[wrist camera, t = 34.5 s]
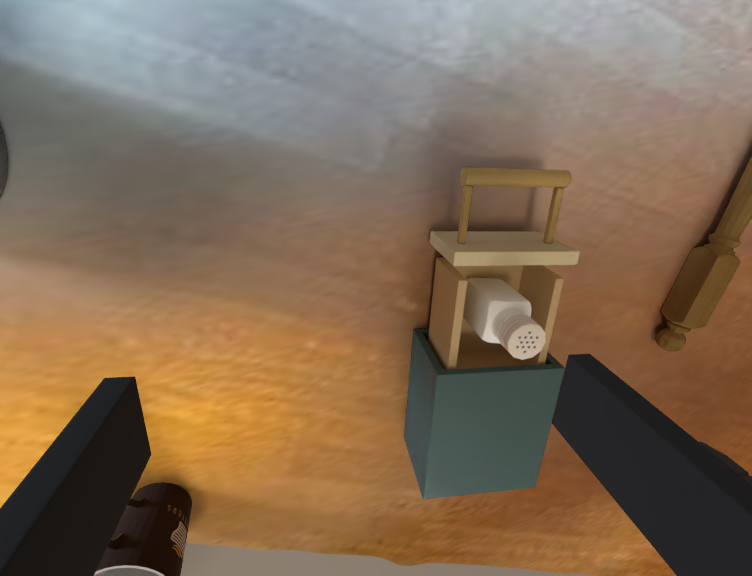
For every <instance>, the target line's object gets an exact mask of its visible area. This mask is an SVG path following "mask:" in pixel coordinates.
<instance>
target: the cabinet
mask: <svg viewBox="0 0 752 576" xmlns="http://www.w3.org/2000/svg"><path fill="white" fill-rule="evenodd" d="M428 336H429V329H414V331H413V342H412V354H411V366H410V377H409V389H408V401H407V412H406V424H405V436H404V439H405V442H406V445H407V449H408V452H409V455H410V458H411V462H412V465H413V468H414V471H415V475H416V478H417V481H418V484H419V487H420V491H421V494H422V497H423V499H430V498H440V497H449V496H458V495H468V494H477V493H487V492H496V491H506V490H515V489H524V488H534V487H535V486H536V482H537V478H538V474H539V470H540V466H541V462H542V458H543V454H544V450H545V446H546V442H547V438H548V434H549V430H550V426H551V422H552V418H553V414H554V410H555V406H556V402H557V398H558V394H559V390H560V386H561V382H562V378H563V374H564V370H565V368H564V367H563V366H562V365H561V364H560V363H559V362H558V361H557V360H556V359H555V358H554V357H553V356H552V355H551V354H550V353H547V357H546V361H545V364H543V365H524V366H506V367H487V368H468V369H450V370H443V368H442V367H441V365H440V363H439V361H438V359H437V358H436V356H435V354H434V352H433V350H432V349H431V347H430V345H429V343H428Z"/></svg>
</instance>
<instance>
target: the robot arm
mask: <svg viewBox="0 0 752 576" xmlns="http://www.w3.org/2000/svg"><path fill="white" fill-rule="evenodd" d="M7 170H8V157H7V148H6V144H5V139H4V136H3V133H2V130H1V127H0V196H1V194H2V191H3V189H4V186H5V182H6V178H7ZM552 424H553V425H554V426H555V427H556V429H557V430H558V431H559V432H560V434H561V435H562V436H563V437H564V438H565V440H566V441H567V442H568V443H569V445H570V446H571V447H572V448H573V449H574V451H575V452H576V453H577V454H578V456H579V457H580V458H581V459H582V460H583V462H584V463H585V464H586V465H587V467H588V468H589V469H590V470H591V471H592V473H593V474H594V475H595V476H596V477H597V479H598V480H599V481H600V482H601V484H602V485H603V486H604V487H605V488H606V490H607V491H608V492H609V493H610V495H611V496H612V497H613V498H614V499H615V501H616V502H617V503H618V504H619V506H620V507H621V508H622V509H623V510H624V512H625V513H626V514H627V515H628V517H629V518H630V519H631V520H632V521H633V523H634V524H635V525H636V526H637V528H638V529H639V530H640V531H641V532H642V534H643V535H644V536H645V537H646V538H647V540H648V541H649V542H650V543H651V545H652V546H653V547H654V548H655V549H656V551H657V552H658V553H659V554H660V556H661V557H662V558H663V559H664V560H665V562H666V563H667V564H668V565H669V567H670V568H671V569H672V570H673V571H674V573H675V574H676V575H677V576H752V476H749V474H748V472H747V471H745V470H744V469H743V468H742V467H740V466H739V465H738V464H737V463H735V462H734V461H733V460H732V459H730V458H729V457H728V456H726V455H725V454H723V453H721V452H719V451H717V450H716V449H714V448H712V447H710V446H708V445H707V444H705V443H703V442H698V441H696V440H695V439H694V438H693V437H692V436H690V435H689V434H688V433H687V432H685V431H684V430H683V429H682V428H680V427H679V426H678V425H677V424H676V423H674V422H673V421H672V420H671V419H669V418H668V417H667V416H666V415H664V414H663V413H662V412H661V411H659V410H658V409H657V408H656V407H655V406H653V405H652V404H651V403H650V402H648V401H647V400H646V399H645V398H643V397H642V396H641V395H640V394H639V393H637V392H636V391H635V390H634V389H632V388H631V387H630V386H629V385H627V384H626V383H625V382H624V381H623V380H621V379H620V378H619V377H618V376H616V375H615V374H614V373H613V372H611V371H610V370H609V369H608V368H607V367H605V366H604V365H603V364H602V363H600V362H599V361H598V360H597V359H595V358H594V357H593V356H592V355H590V354H577V355H568V359H567V363H566V367H565V371H564V375H563V379H562V383H561V387H560V391H559V395H558V399H557V403H556V407H555V411H554V415H553V419H552ZM150 456H151V451H150V446H149V441H148V436H147V432H146V427H145V422H144V417H143V413H142V408H141V403H140V398H139V394H138V389H137V384H136V379H135V377H118V378H104V379H103V381H102V382H101V383H100V384H99V386H98V387H97V388H96V389H95V391H94V392H93V393H92V394H91V396H90V397H89V398H88V399H87V401H86V402H85V403H84V404H83V406H82V407H81V408H80V409H79V411H78V412H77V413H76V414H75V416H74V417H73V418H72V419H71V421H70V422H69V423H68V424H67V426H66V427H65V428H64V429H63V431H62V432H61V433H60V434H59V436H58V437H57V438H56V439H55V441H54V442H53V443H52V444H51V446H50V447H49V448H48V449H47V451H46V452H45V453H44V454H43V456H42V457H41V458H40V459H39V461H38V462H37V463H36V464H35V466H34V467H33V468H32V469H31V471H30V472H29V473H28V475H27V476H26V477H25V478H24V480H23V481H22V482H21V483H20V485H19V486H18V487H17V488H16V490H15V491H14V492H13V493H12V495H11V496H10V497H9V498H8V500H7V501H6V502H5V503H4V505H3V506H2V507H1V508H0V576H94V574H95V572H96V570H97V568H98V566H99V564H100V562H101V560H102V557H103V555H104V553H105V551H106V549H107V547H108V545H109V543H110V541H111V538H112V536H113V534H114V532H115V530H116V528H117V526H118V524H119V522H120V519H121V517H122V515H123V513H124V511H125V509H126V507H127V505H128V503H129V500H130V498H131V496H132V494H133V492H134V490H135V488H136V486H137V483H138V481H139V479H140V477H141V475H142V473H143V471H144V469H145V467H146V464H147V462H148V460H149V458H150Z"/></svg>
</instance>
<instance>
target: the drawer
mask: <svg viewBox="0 0 752 576" xmlns="http://www.w3.org/2000/svg"><path fill="white" fill-rule="evenodd" d="M460 179H461V184H462V185H464V187H463V195H462V204H461V212H460V220H459V229H458V231H431V235H430V244H431V245H432V246H433V247H434V248H435V249H436V250H437V251H438V252H439V253H440V254H441V255H442V256H443V257H444V258H436V267H435V277H434V286H433V296H432V306H431V316H430V326H429V336H428V343H429V345H430V347H431V349H432V350H433V352H434V354H435V356H436V358H437V359H438V361H439V363H440V365H441V367H442V368H443V370H450V369H468V368H487V367H506V366H524V365H543V364H545V361H546V357H547V353H548V348H549V344H550V340H551V335H552V331H553V326H554V322H555V318H556V313H557V309H558V305H559V300H560V296H561V291H562V287H563V283H564V278H562V277H560V276H559V275H557V274H555V273H554V272H552V271H550V270H549V269H547V268H545V267H544V266H542V265H577V262H578V258H579V254H580V251H578V250H576V249H574V248H572V247H569V246H567V245H565V244H563V243H561V242H559V241H556V240H554V239H553V238H554V233H555V229H556V224H557V219H558V214H559V210H560V205H561V200H562V195H563V190H564V188H566V187H567V186H568V185H569V184H570V182H571V173H570V171H568V170H541V169H508V168H476V167H464V168H463V169H462V171H461V177H460ZM473 186H513V187H554V190H553V195H552V200H551V205H550V210H549V215H548V220H547V225H546V230H545V235H544V234H541V233H539V232H514V231H467V228H468V220H469V212H470V204H471V196H472V189H473ZM468 278H494V279H501V280H503V281H504V282H505V283H507V284H508V285H509V286H510V287H512V288H513V289H514V290H515V291H517V292H518V293H519V294H520V295H522V296H523V297H524V298H525V299H527V300H528V301H529V302H530V304H531V308H532V309H531V318H532V319H533V320H534V321H535V322H536V323H538V324H539V325H540V326H541V327H542V329H543V330H544V332H545V333H546V342H545V344H544V346H543V348H542V350H541V351H540V352H539V353H537V354H536V355H535V356H534V357H532V358H528V359H524V360H521V359H518V358H514V357H513V356H512V355H511V354H510V353H509V352H508V351H507V350H506V349H505V347H504V346H503V345H501V344H500V343H489V342H486V341H484V340H482V339H481V338H480V337H479V335H478V334H477V333H476V332H475V330H474V329H473V328H472V327H471V325H470V324H469V323H468V322H467V321H466V319H465V318H464V317H463V312H464V304H465V297H466V290H467V282H468V280H467V279H468Z"/></svg>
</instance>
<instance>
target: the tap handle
mask: <svg viewBox="0 0 752 576" xmlns="http://www.w3.org/2000/svg"><path fill="white" fill-rule="evenodd" d="M751 217H752V156H751V158H750V160H749V162H748V164H747V166H746V168H745V170H744V172H743V175H742V177H741V179H740V181H739V183H738V185H737V187H736V189H735V191H734V193H733V196H732V198H731V200H730V202H729V204H728V206H727V208H726V210H725V212H724V215H723V217H722V219H721V221H720V223H719V225H718V227H717V229H716V231H715V233H713V234H710V235H709V237H708V239H709V241H710V243H709V244H704V246H702V247H696V248H694V249H692V250H691V252H690V254H689V256H688V258H687V260H686V262H685V264H684V266H683V268H682V270H681V272H680V274H679V276H678V278H677V280H676V281H675V283H674V285H673V287H672V289H671V291H670V293H669V295H668V297H667V299H666V301H665V303H664V305H663V307H662V309H661V313H662V314H663V316H664V317H665V318H666V319H668V320H667V321H666V323H667V326H668V328H664V329H662V330H661V331H659V333H658V334H657V335H656V342H657V344H658V345H659V346H660V347H661V348H663V349H665V350H667V351H678V350H680V349H682V347H683V346H684V345H685V342H686V338H685V336H684V334H683V333H685V332H689V331H690V330H691V328H692V329H697V328H701V327H704V326H705V325H706V323H707V321H708V320H709V318H710V316H711V314H712V313H713V311H714V309H715V307H716V305H717V304H718V302H719V300H720V298H721V297H722V295H723V293H724V291H725V289H726V288H727V286H728V284H729V282H730V281H731V279H732V277H733V275H734V273H735V272H736V270H737V268H738V266H739V265H740V261H739V259H738V258H737V257H736V256H735V252H734V251H733V248H736V247H738V246H739V245H740V244H741V242H740V241H739V237H740V236H741V234H742V232H743V231H744V229H745V227H746V226H747V224H748V222H749V221H750V219H751Z"/></svg>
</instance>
